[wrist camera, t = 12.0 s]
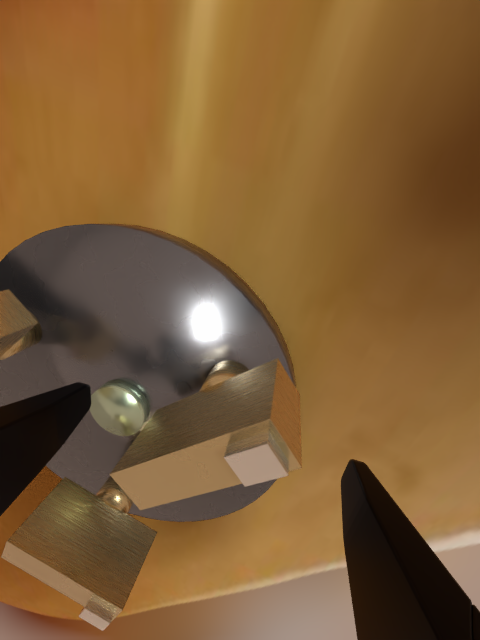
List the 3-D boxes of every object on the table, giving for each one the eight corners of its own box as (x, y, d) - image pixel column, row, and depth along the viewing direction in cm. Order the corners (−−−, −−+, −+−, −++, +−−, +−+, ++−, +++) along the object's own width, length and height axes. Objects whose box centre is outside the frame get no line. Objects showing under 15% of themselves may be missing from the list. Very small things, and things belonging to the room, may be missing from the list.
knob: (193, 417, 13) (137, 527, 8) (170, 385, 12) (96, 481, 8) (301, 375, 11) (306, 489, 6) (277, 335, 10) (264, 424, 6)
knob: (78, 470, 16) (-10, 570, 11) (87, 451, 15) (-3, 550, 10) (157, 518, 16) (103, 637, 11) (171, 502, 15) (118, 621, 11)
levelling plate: (49, 472, 19) (20, 502, 17) (-38, 224, 13) (-98, 224, 11) (286, 520, 16) (284, 562, 14) (311, 223, 10) (316, 223, 8)
